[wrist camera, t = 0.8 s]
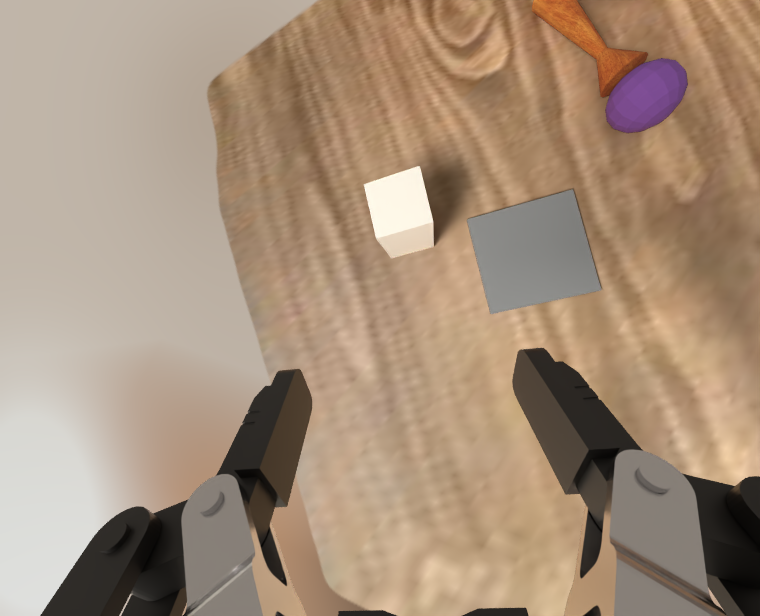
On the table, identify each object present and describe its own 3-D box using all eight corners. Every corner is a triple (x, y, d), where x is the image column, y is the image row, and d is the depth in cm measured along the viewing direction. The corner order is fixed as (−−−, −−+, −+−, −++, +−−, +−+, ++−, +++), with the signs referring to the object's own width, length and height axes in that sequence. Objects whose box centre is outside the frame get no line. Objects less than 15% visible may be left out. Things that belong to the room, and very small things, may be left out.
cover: (382, 217, 36) (363, 184, 27) (423, 205, 35) (419, 165, 26) (391, 258, 36) (376, 238, 26) (433, 246, 35) (433, 222, 25)
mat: (466, 220, 34) (467, 219, 33) (571, 190, 32) (573, 189, 31) (490, 313, 33) (491, 313, 33) (599, 290, 31) (601, 290, 30)
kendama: (585, -57, 28) (722, 75, 24) (554, 14, 34) (660, 129, 30) (536, -31, 28) (666, 105, 24) (513, 35, 34) (614, 154, 30)
